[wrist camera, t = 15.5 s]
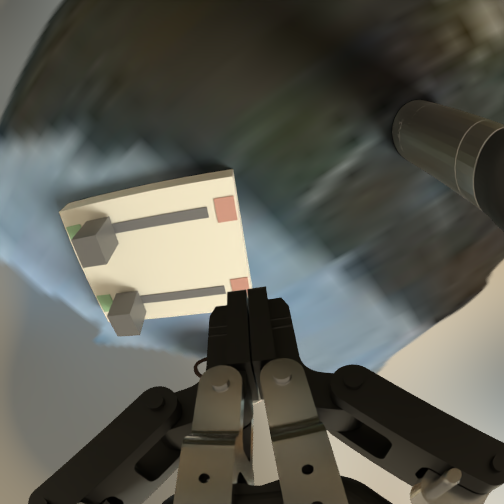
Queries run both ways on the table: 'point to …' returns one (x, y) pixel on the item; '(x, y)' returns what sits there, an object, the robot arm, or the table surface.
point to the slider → (127, 314)
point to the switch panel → (169, 244)
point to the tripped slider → (95, 242)
